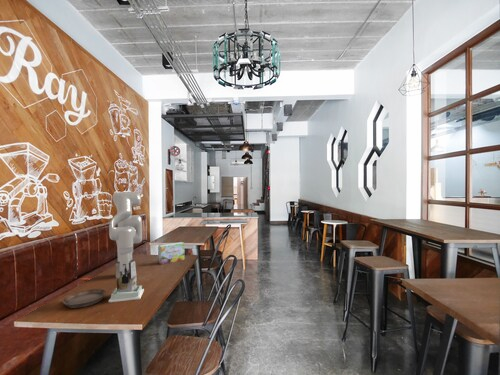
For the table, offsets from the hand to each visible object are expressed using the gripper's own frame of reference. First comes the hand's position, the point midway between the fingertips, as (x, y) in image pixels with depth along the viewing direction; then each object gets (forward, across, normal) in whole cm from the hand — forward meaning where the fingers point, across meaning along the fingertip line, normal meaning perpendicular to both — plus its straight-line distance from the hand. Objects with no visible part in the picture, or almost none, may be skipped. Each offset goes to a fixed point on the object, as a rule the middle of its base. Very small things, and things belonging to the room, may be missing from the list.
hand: (126, 280), depth 154 cm
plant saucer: (+9, +1, -21) cm, 23 cm away
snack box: (+9, -69, +20) cm, 72 cm away
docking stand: (+9, 0, 0) cm, 9 cm away
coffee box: (+5, 0, 0) cm, 5 cm away
